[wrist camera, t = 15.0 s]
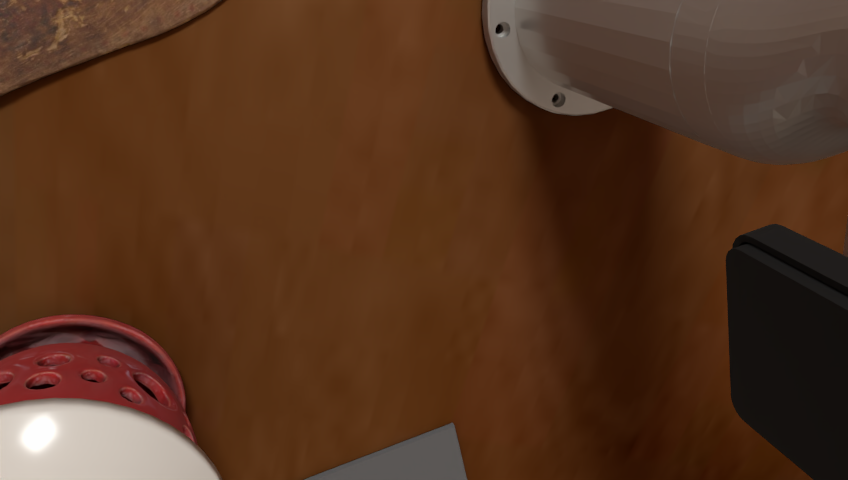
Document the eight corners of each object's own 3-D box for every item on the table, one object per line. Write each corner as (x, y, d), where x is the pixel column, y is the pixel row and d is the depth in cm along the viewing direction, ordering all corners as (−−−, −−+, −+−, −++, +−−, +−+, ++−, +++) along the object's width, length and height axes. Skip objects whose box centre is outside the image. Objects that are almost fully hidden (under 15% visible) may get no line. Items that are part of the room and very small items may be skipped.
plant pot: (-84, 311, 40) (-170, 452, 29) (184, 282, 44) (194, 397, 33) (-33, 515, 45) (-91, 699, 34) (204, 473, 48) (218, 627, 38)
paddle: (-344, 136, 34) (-364, 144, 33) (221, -239, 36) (223, -245, 34) (-180, 273, 38) (-193, 285, 37) (322, -70, 40) (328, -70, 38)
